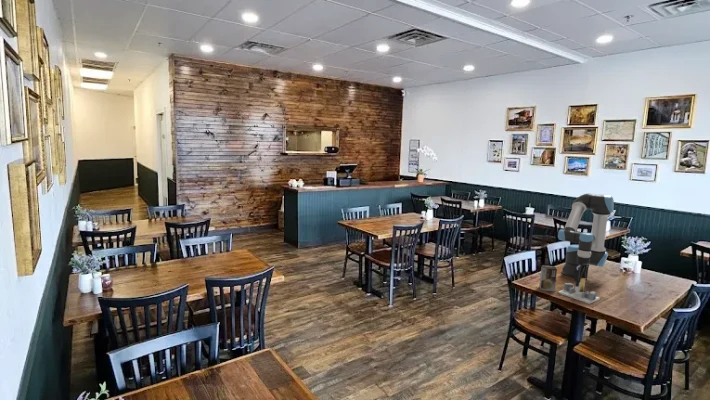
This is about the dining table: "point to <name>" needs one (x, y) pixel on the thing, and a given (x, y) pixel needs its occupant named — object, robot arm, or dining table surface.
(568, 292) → the shaft bench
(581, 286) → the coupler
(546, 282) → the coffee box
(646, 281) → the dining table surface
